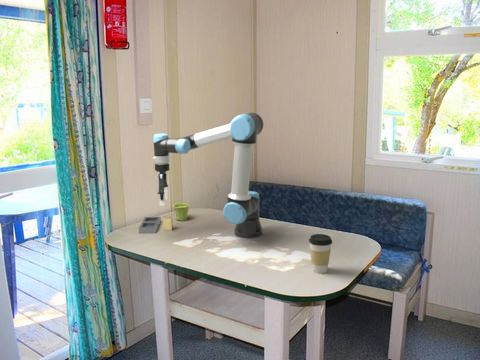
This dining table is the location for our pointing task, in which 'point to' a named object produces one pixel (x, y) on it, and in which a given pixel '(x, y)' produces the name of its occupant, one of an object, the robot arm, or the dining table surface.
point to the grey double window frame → (150, 225)
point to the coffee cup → (320, 252)
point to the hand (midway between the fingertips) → (163, 202)
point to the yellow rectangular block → (167, 223)
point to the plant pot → (181, 211)
